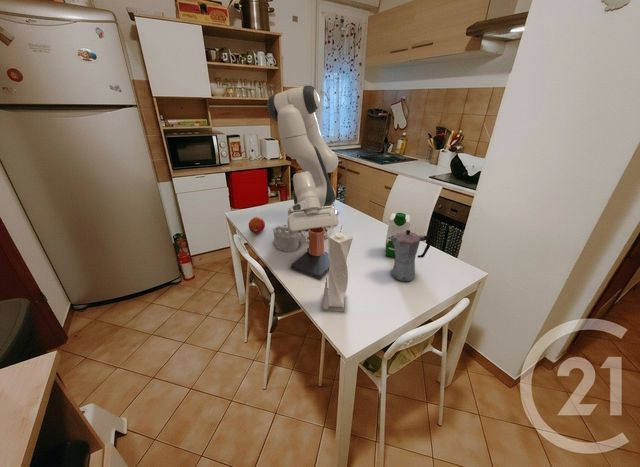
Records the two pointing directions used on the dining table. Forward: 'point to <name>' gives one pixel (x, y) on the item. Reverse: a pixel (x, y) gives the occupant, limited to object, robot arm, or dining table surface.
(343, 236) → the skyscraper
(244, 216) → the dining table surface
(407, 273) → the moka pot
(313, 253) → the cup
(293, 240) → the lumpy-topped squat cylinder
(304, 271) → the dark grey flat block
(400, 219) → the milk carton
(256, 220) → the apple
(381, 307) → the dining table surface
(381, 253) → the dining table surface
